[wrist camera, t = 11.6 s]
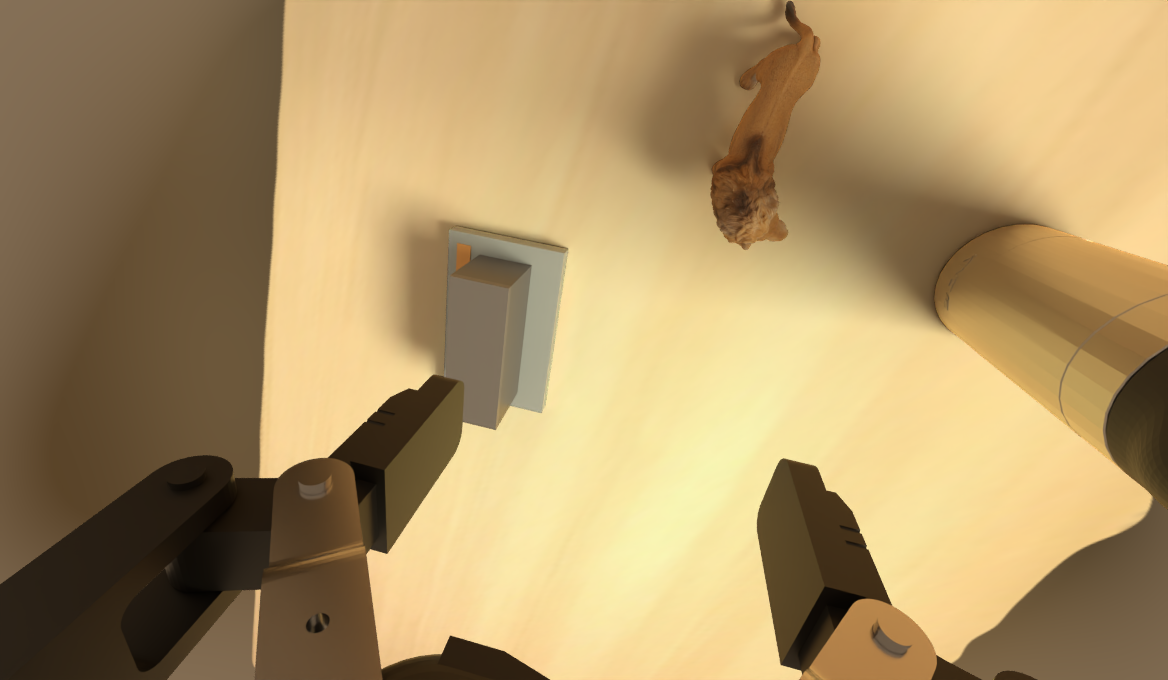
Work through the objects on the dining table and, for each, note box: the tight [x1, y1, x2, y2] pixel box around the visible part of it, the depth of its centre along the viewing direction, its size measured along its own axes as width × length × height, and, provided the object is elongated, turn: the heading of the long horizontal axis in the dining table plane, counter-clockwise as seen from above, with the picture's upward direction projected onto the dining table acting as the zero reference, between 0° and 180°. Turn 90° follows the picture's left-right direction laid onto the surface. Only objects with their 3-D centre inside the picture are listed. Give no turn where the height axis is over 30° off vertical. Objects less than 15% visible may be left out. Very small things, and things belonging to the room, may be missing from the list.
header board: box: [444, 226, 568, 413], centre depth 43 cm, size 10×16×6 cm, turn 170°
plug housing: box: [446, 255, 532, 430], centre depth 42 cm, size 5×13×6 cm, turn 170°
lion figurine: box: [711, 1, 820, 250], centre depth 31 cm, size 15×5×9 cm, turn 173°
